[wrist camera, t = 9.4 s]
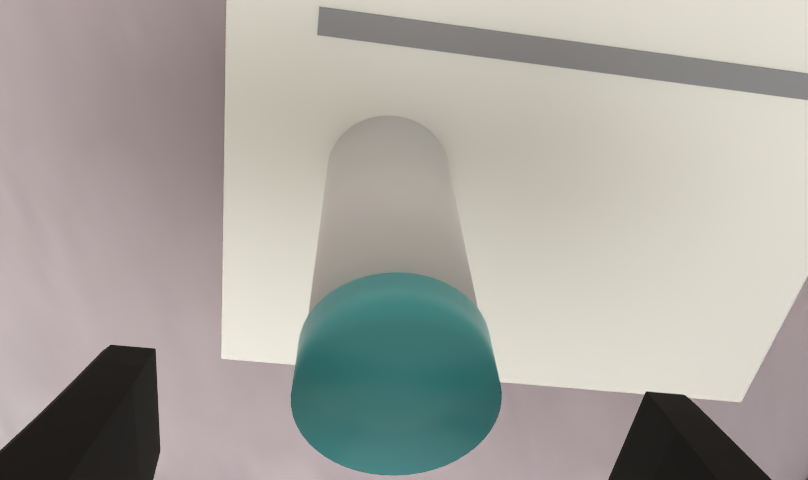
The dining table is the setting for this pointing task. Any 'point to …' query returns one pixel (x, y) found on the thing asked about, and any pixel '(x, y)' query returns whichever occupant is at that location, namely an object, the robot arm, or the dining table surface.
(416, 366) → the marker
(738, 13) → the paper
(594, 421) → the dining table surface
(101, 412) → the robot arm
